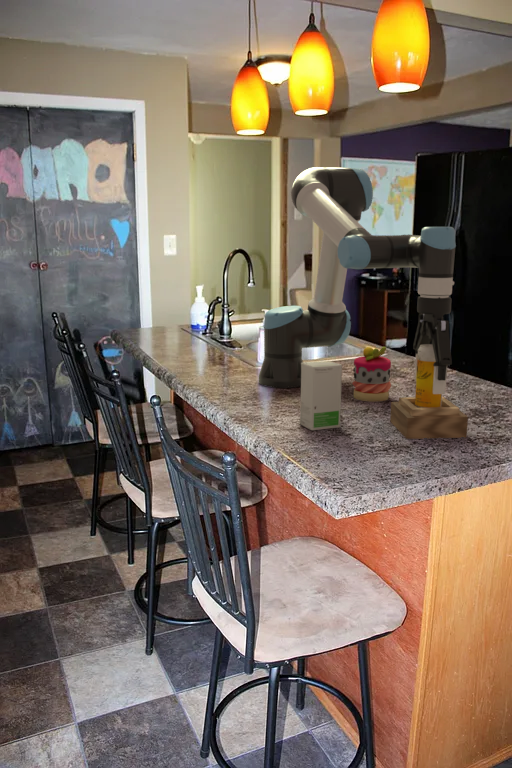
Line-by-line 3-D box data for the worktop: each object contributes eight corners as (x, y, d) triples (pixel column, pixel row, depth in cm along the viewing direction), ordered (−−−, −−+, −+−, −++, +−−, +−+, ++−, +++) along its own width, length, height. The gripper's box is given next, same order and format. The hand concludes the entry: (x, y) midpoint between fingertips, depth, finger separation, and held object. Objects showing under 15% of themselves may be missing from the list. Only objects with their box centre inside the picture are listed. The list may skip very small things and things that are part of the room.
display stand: (406, 439, 150) (408, 411, 149) (390, 421, 164) (391, 396, 162) (466, 437, 151) (468, 410, 150) (445, 420, 165) (446, 394, 163)
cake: (345, 397, 186) (346, 345, 183) (364, 390, 194) (366, 340, 191) (378, 404, 180) (380, 350, 176) (396, 396, 188) (399, 344, 184)
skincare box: (311, 431, 156) (312, 367, 152) (298, 424, 162) (299, 362, 158) (341, 427, 159) (343, 364, 156) (328, 420, 165) (329, 359, 162)
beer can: (412, 405, 159) (415, 343, 157) (437, 405, 159) (441, 344, 156) (417, 411, 153) (421, 347, 151) (443, 411, 153) (448, 347, 150)
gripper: (471, 301, 138) (464, 399, 143) (432, 290, 162) (427, 374, 167) (436, 302, 138) (431, 400, 143) (402, 290, 162) (398, 375, 167)
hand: (429, 386), depth 155 cm, fingers open, 13 cm apart
